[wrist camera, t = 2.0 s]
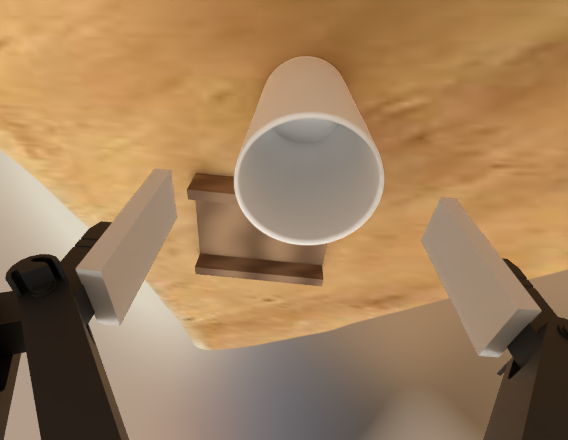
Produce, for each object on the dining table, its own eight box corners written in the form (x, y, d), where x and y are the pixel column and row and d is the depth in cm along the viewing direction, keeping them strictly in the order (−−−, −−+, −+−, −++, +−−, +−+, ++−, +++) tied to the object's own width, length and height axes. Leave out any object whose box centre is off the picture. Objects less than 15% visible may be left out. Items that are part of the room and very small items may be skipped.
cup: (251, 66, 28) (211, 131, 15) (343, 46, 27) (383, 97, 14) (272, 150, 33) (255, 253, 20) (351, 136, 32) (386, 236, 19)
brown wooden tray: (338, 188, 35) (341, 205, 32) (320, 266, 43) (321, 286, 40) (196, 173, 35) (187, 189, 32) (202, 255, 42) (195, 273, 39)
